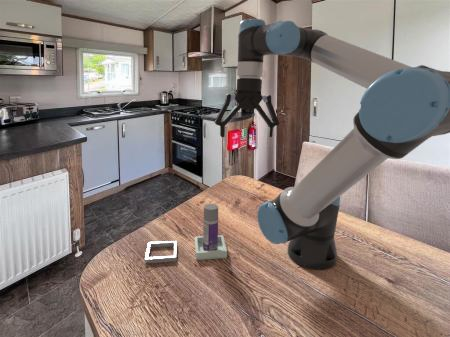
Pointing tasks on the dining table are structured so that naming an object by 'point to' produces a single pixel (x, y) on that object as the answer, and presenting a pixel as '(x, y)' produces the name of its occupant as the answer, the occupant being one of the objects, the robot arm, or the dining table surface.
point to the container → (210, 227)
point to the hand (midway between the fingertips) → (245, 147)
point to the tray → (214, 254)
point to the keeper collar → (164, 258)
